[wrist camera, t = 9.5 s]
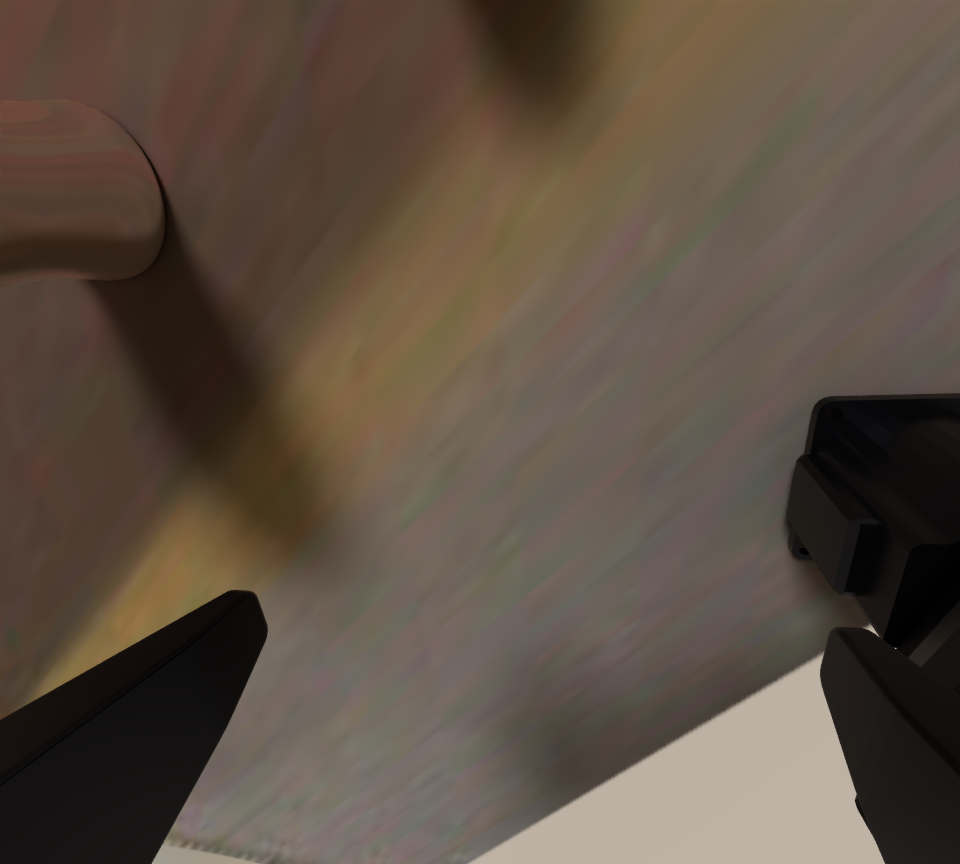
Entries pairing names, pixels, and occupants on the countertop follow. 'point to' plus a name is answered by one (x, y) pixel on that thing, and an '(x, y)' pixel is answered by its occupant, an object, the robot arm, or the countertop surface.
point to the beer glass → (73, 195)
